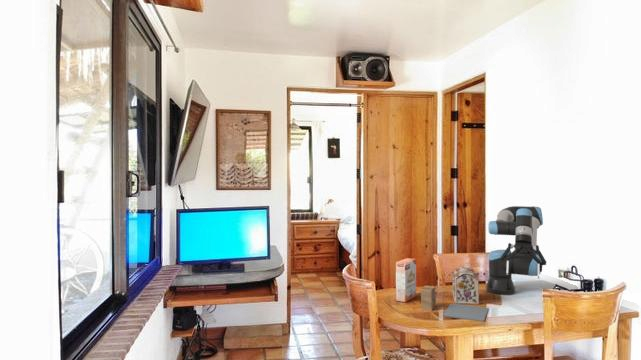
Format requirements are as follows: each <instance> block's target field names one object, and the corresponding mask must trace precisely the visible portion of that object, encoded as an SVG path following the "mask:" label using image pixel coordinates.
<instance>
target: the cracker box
mask: <svg viewBox="0 0 641 360" xmlns="http://www.w3.org/2000/svg"><path fill="white" fill-rule="evenodd" d="M416 297H417V259H416V258H409V257H406V258H404V259H401V260H398V261H396V262H395V301H396V302H399V303H400V302H401V303H407V302H409V301H411V300H412V299H414V298H416Z"/></svg>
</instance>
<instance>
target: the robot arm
mask: <svg viewBox="0 0 641 360" xmlns="http://www.w3.org/2000/svg"><path fill="white" fill-rule="evenodd" d="M496 217H497V218H496V220H490V221H489V222H488V233H489V234H490V235H495V236H496V235H497V236H513V237H514V236H515V238H514V239H515V241H514V242H515V243H514V244H512V243H510V242H509V243H507V245H508V246H507V247H506V249H495V250H492V251H490V252H489V253H488V279H487V282H486V287H485V290H486V291H487V292H488V293H490V294H495V295H503V296H508V295H514V294H515V293H516V287H515V285H514V281H513V278H512V275H521V276H529V277H537V279H538V280H539V279H540V275H541V273H542V272H543V266H546V265H547V260H546V258H545V257H544V255H543V254H542V252H541V251H540V246H539V244H538V243H537V241H538V240H537V238H538V229H539V228H540V226H543V224H544V221H543V220H544V218H543V213H542V208H541V207H539V206H533V205H532V206H523V205H522V206H518V205H517V206H516V205H515V206H514V205H513V206H508V207H506V208H505V207H504V208H503V209H501V210H500V211H499V212H498V213H497V215H496ZM537 244H538V245H537ZM513 248H514V250H513V251H512V250H511V249H513Z"/></svg>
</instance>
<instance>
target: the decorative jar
mask: <svg viewBox="0 0 641 360" xmlns="http://www.w3.org/2000/svg"><path fill="white" fill-rule="evenodd" d="M479 283H480V282H479V276H478V272H477V271H476V270H475V269H471V268H470V267H469V266H467V265H466V266H465V265H462V266H460V268H458V269H453V272H452V298H453V300H454V304H461V305H475V306H476V305H477V306H478V305H479V304H480V289H479V288H480V287H479V286H480V285H479Z"/></svg>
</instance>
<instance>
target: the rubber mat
mask: <svg viewBox="0 0 641 360" xmlns="http://www.w3.org/2000/svg"><path fill="white" fill-rule="evenodd" d="M445 309H446V310H445V311H444V313H443V314H442V317H445V318H446V317H447V318H452V319H459V320H466V321H467V320H468V321H473V320H474V322H480V321H481V323H485V321H486V317H487V314H488V312H489V307H484V306H478V305H477V306H476V305H471V304H456V303H450V304H448V307H447V308H445Z"/></svg>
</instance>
